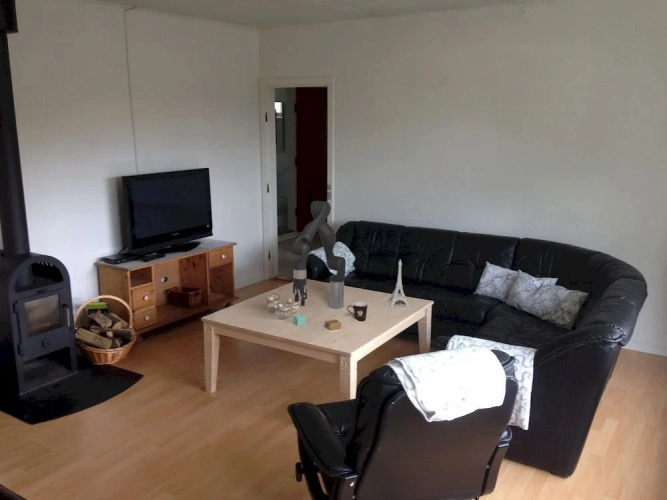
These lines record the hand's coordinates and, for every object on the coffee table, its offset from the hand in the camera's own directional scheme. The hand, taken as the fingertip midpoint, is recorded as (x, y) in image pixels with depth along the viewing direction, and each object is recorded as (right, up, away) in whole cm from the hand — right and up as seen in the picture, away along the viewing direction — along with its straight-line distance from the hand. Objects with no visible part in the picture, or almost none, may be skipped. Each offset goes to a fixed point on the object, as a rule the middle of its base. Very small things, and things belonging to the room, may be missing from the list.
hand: (299, 303), depth 348 cm
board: (+18, -15, -1) cm, 23 cm away
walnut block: (+19, -14, -4) cm, 24 cm away
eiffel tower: (+63, -5, +48) cm, 79 cm away
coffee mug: (+34, -11, +16) cm, 40 cm away
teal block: (0, -13, +3) cm, 14 cm away
